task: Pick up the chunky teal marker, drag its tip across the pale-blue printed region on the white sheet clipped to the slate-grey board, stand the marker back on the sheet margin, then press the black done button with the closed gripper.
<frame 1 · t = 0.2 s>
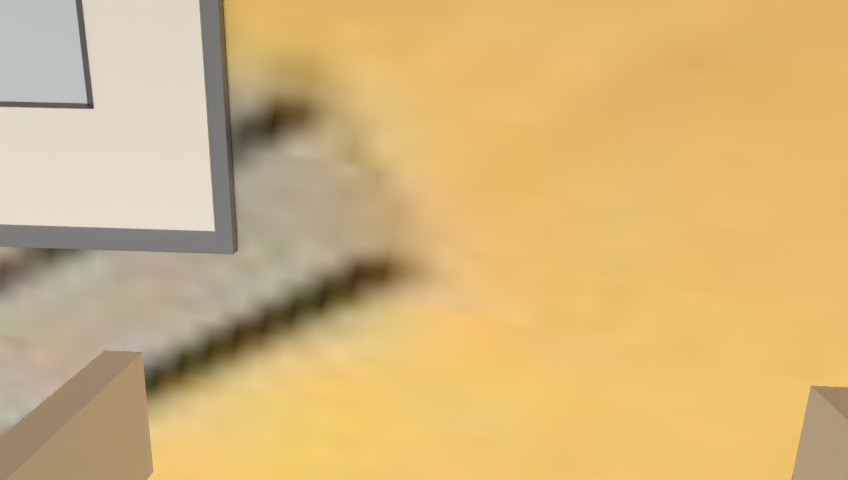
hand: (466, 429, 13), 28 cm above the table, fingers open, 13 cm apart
sheet: (54, 13, 39), on the table
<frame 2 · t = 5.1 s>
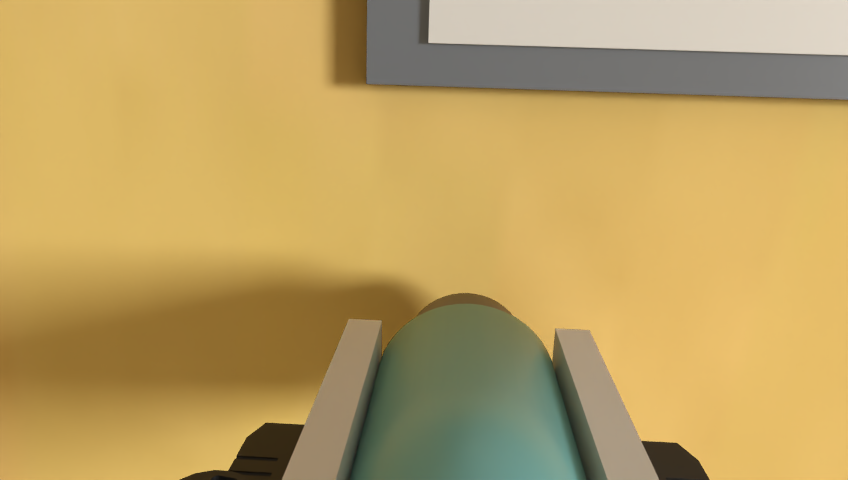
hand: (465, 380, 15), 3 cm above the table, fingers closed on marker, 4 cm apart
marker: (464, 349, 17), point 2 cm above the table, touching gripper
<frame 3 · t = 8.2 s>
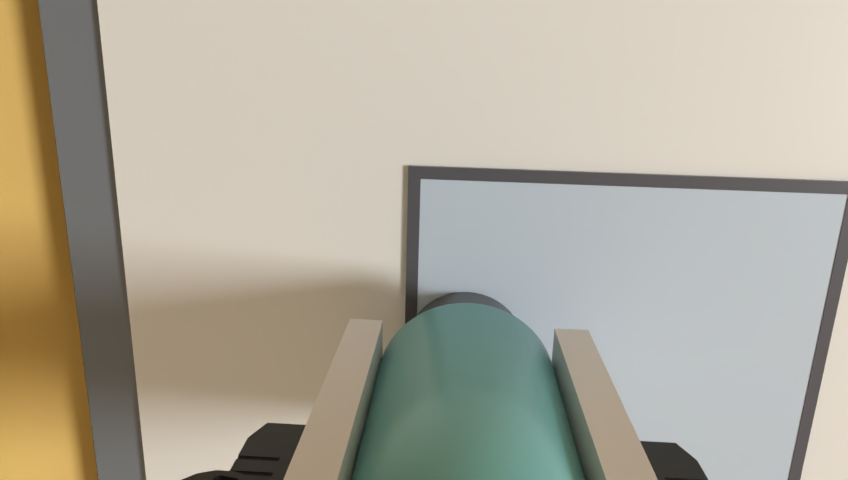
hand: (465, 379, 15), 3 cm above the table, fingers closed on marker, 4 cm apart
sheet: (612, 253, 17), on the table
marker: (465, 347, 17), point 1 cm above the table, touching gripper, sheet
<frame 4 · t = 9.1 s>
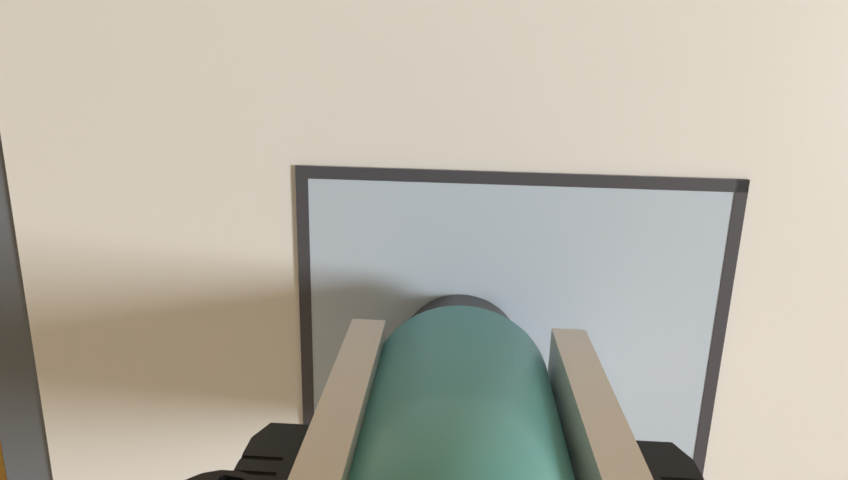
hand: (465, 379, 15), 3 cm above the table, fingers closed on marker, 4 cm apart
sheet: (510, 252, 17), on the table
marker: (460, 349, 17), point 1 cm above the table, touching gripper
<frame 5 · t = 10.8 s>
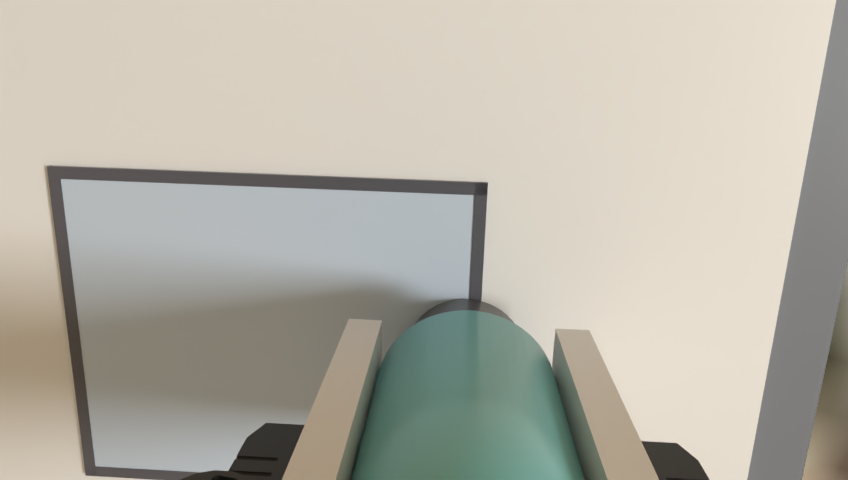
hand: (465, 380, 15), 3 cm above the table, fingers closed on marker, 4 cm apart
sheet: (279, 253, 17), on the table
marker: (464, 354, 17), point 1 cm above the table, touching gripper
when the fingers open (3 cm above the table, at t = 14.3 s): marker stays where it is, resting on sheet.
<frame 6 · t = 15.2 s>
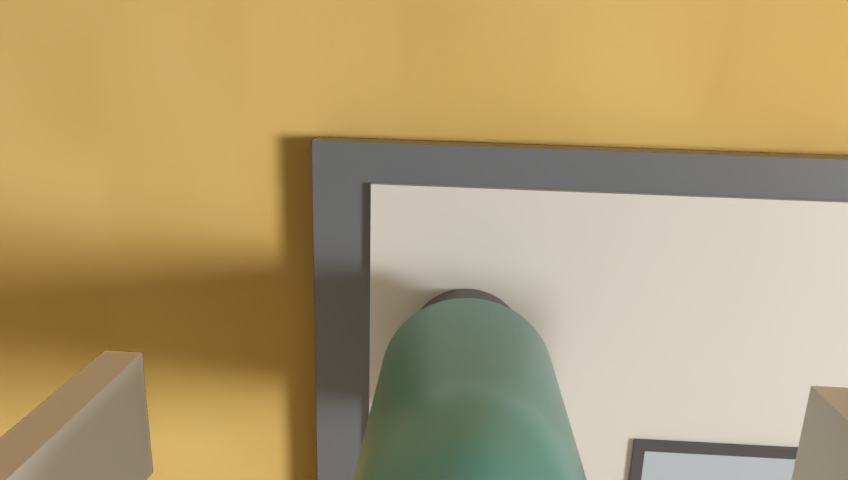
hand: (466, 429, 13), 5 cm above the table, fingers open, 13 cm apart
marker: (465, 342, 17), point 1 cm above the table, touching sheet
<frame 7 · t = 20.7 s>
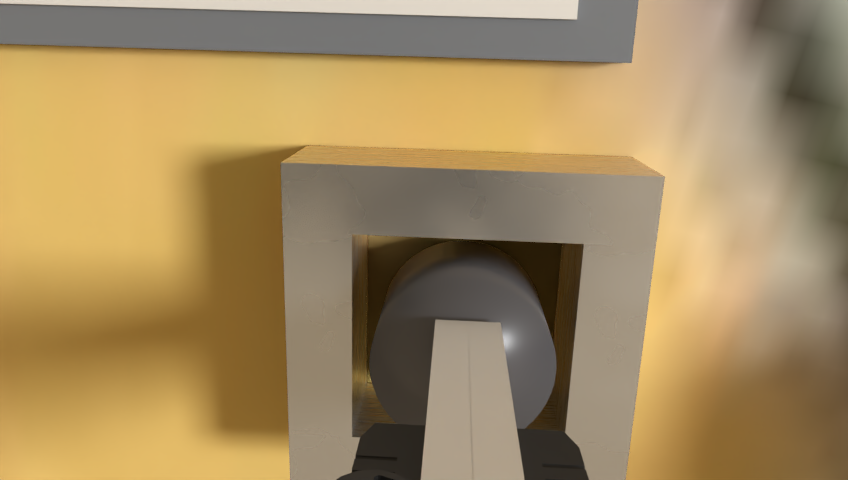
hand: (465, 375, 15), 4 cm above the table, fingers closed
button housing: (461, 302, 20), on the table
button: (461, 339, 17), point 3 cm above the table, slide at 0.8 cm, touching gripper
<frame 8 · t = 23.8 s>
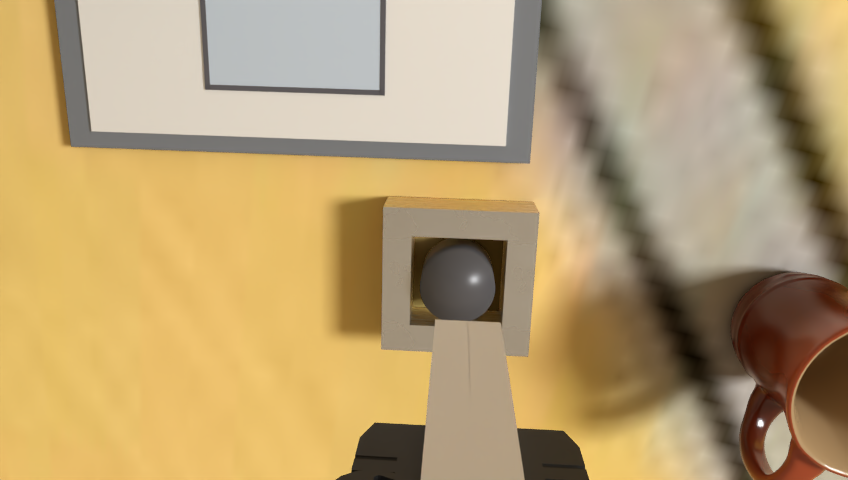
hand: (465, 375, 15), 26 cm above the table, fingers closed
button housing: (457, 268, 42), on the table
mug: (764, 339, 43), on the table
button: (457, 279, 40), point 2 cm above the table, slide at 1.2 cm
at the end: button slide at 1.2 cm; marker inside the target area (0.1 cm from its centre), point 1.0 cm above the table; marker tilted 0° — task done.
